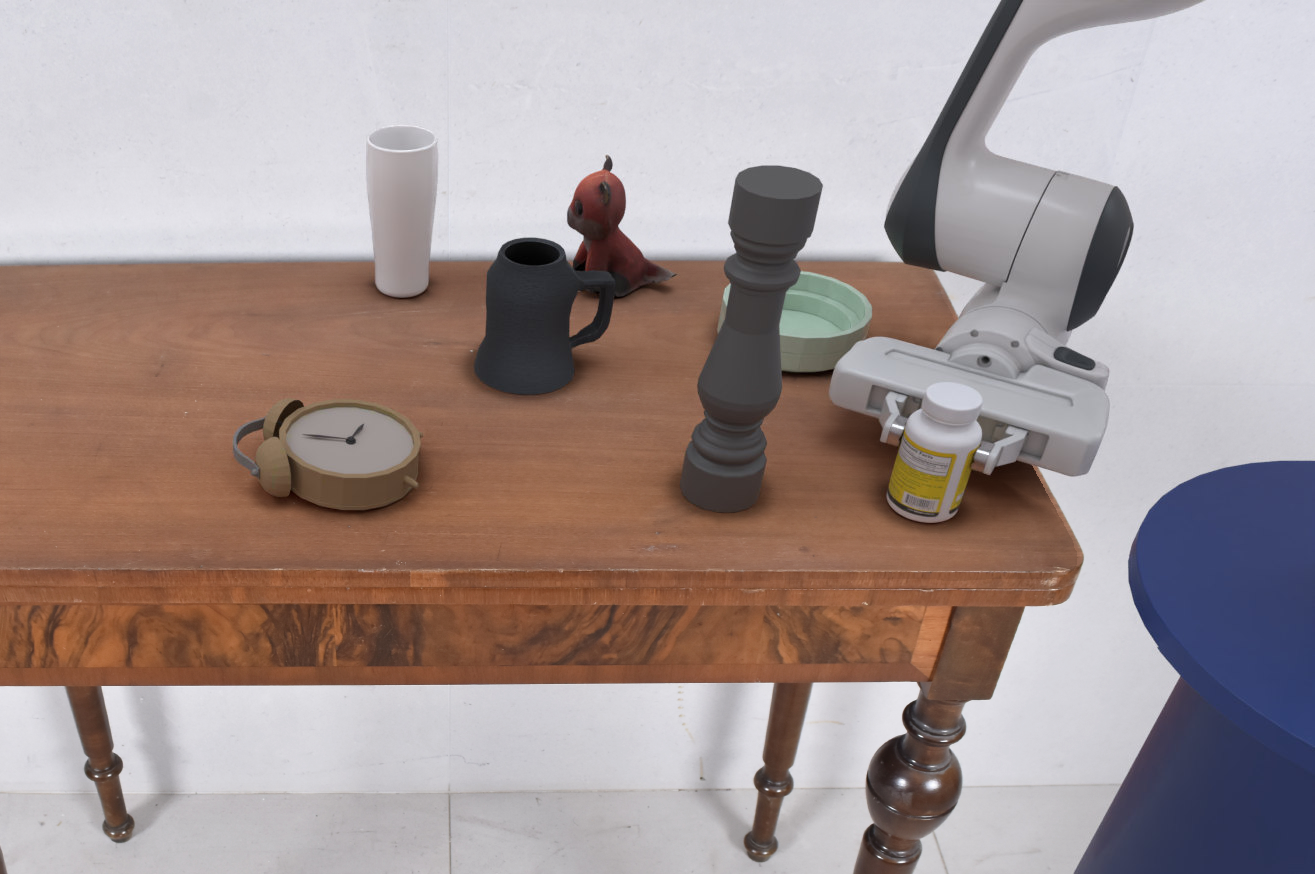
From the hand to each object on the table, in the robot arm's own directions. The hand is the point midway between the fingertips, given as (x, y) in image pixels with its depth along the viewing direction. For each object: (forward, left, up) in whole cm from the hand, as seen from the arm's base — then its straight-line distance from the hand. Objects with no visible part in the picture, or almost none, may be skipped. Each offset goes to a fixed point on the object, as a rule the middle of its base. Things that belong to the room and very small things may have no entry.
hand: (936, 450), depth 96 cm
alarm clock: (+41, +21, -6) cm, 47 cm away
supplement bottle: (0, -1, -6) cm, 6 cm away
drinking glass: (+54, -9, -6) cm, 55 cm away
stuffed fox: (+36, -21, -6) cm, 42 cm away
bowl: (+18, -20, -6) cm, 27 cm away
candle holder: (+14, +6, -6) cm, 16 cm away
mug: (+35, -3, -6) cm, 36 cm away
